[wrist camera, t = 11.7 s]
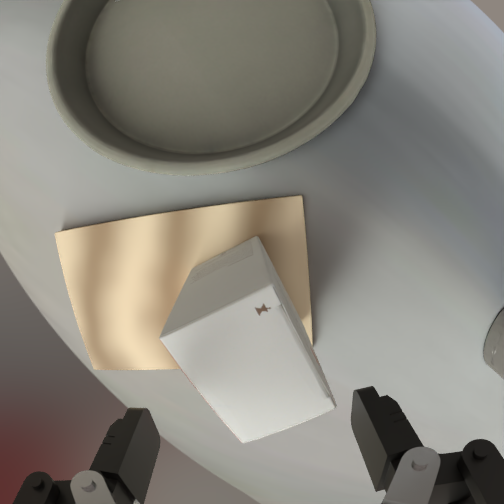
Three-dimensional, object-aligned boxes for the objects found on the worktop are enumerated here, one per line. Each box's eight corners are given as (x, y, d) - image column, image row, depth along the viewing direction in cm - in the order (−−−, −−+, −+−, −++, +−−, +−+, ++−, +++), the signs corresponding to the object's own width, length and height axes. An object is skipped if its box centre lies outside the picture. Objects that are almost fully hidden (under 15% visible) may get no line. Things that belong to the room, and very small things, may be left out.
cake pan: (393, 6, 19) (414, -15, 14) (271, 232, 23) (278, 245, 19) (167, -76, 16) (160, -101, 11) (30, 114, 20) (0, 107, 16)
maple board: (299, 195, 23) (302, 195, 22) (310, 348, 26) (312, 354, 25) (60, 230, 23) (54, 232, 22) (98, 364, 26) (94, 369, 25)
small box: (190, 267, 23) (152, 335, 12) (258, 232, 22) (272, 278, 12) (240, 351, 24) (240, 447, 14) (303, 322, 24) (339, 410, 14)
